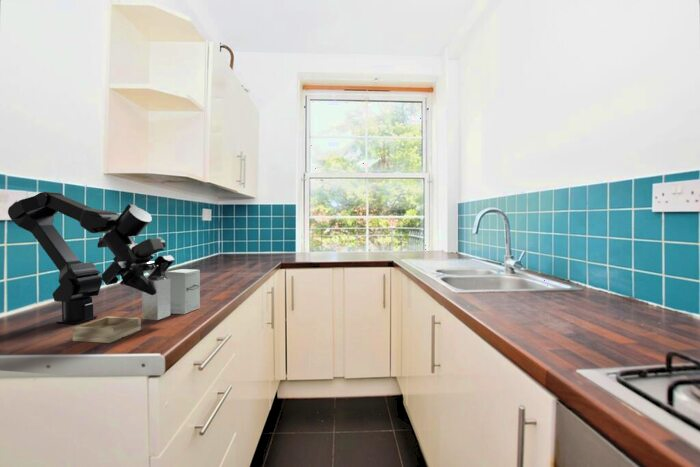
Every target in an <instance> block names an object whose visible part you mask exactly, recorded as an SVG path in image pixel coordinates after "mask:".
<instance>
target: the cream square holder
mask: <svg viewBox="0 0 700 467" xmlns="http://www.w3.org/2000/svg"><path fill="white" fill-rule="evenodd" d="M141 330H142V317H130V316H129V317H127V316H111V315H110V316H108V315H107V316H105V317H104V316H103V317H101V318H97V319H95V320H92V321H90V322H87V323H86V322H85V323H83V324H79V325H78V326H74V327H72V341H73V342H87V343H90V342H91V343H104V344H105V343H107V344H110V343H113V342H115V341H118V340H120V339H122V337H123V338H125V337H127V336H130V335H132V334H134V333H137V332H139V331H141Z"/></svg>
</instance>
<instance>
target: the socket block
mask: <svg viewBox="0 0 700 467" xmlns="http://www.w3.org/2000/svg"><path fill="white" fill-rule="evenodd" d="M148 277H149V276H148ZM146 279H147V278H146ZM147 280H148V281H149V283H150V284H151V286H152V287H153V288H154V290H155V292H156V293H155V294H154V295H150V294H148V293H145V292H143V291H141V293H142V294H141V298H142V299H141V305H142V308H141V309H142V312H141V314H142V316H141V320H153V321H159V320H161V319H165V318H167V317H169V316H171V313H170V278H164V276H153V277H149V279H147Z"/></svg>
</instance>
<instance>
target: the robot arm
mask: <svg viewBox="0 0 700 467" xmlns="http://www.w3.org/2000/svg"><path fill="white" fill-rule="evenodd" d="M58 213H60V214H62V215H64V216H67V217H69V218H70V219H73V220H76V221H77V222H79V226H80V227H82V228H83V229H84V230H85V231H87V232H88V233H91V234H104V235H103V236H102V237H99V239H98V242H97V246H96V247H97V248H101V249H102V248H107V249H109V251H110V252H111V253H112V254H113V256H114V257H113V259H112V262H111V263H110V264H109V266H108V267H107V268H106V269H105V271H104V272H102V274H101V271H100V270H98V268H97V267H96V265H95V264H94V263H93V262H92V261H90V262H83V261H81V260H80V259H79V258H78V256H77V255H76V253H75V252H74V251H73V250H72V249H71V247H70V246H69V244H68V243H67V241H65V238H63V236H62V235H61V234H60V232H58V230H57V229H56V227H55V226H54V224H53V223H54V219H55V216H54V215H56V214H58ZM7 214H8V216H9V219H10V220H11V221H12V222H13V223H14V224H15V225H17V227H18V228H21V229H23V230H25V231H28V232H30V233H31V234H32V236H34V238H35V239H36V241H37V242H38V244H39V245H40V246H41V248H42V249H43V251H45V253H46V254H47V256H48V257H49V259H50V260H51V261H52V263H53V264H54V265H55V267H56V268H57V269H58V271H59V275H58V283H59V286H57V287H56V289H55V290H54V291H53V292H52V298H53V301H54V302H58V303H59V302H61V319H59V320H58V319H57V320H56V321H55V322H56V324H68V325H69V324H71V325H72V324H73V325H78V324H81V323H84V322H85V323H86V322H88V321H91V320H93V319H96V318H97V319H98V315H94V303H93V297H97V296H99V293H100V291H101V286H102V283H104V284H105V285H106V286H110V285H114V284H117V283H118V281H119V277H117V276H120V277H121V279H122V280H120V281H119V284H120V285H121V286H123V285H124V286H127V287H130V288H132V289H136V290H137V291H140V292H142V291H143V292H145V293H148V294H150V295H154V294H155V293H156V292H155V290H154V288H153V287H152V286H151V284H150V283H149V281H148V280H147V279H149V277H153V276H164V278H166V275H165V272H167V270H169V268H170V267H171V266H172V265H173V264H174V263H175V261H176V260H175V258H174V257H173V256H172V255H171V254H166V255H165V254H164V255H158V256H157V257H156V258H155V259H154V257H155V255H156V254H157V253H158V252H159V253H160V252H163V251H164V250H165V248H166V247H167V242H166V241H165V240H164V239H163V238H162V237H160V236H158V237H157V236H156V237H155V238H148V239H145V240H143V241H141V242H139V243H137V242H136V241H135V240H134V239H133V237H138V236H140V234H141V233H143V231H144V230H145V229H146V227H147V226H148V225H149V224H150V223H151V222H152V220H153V217H152V215H151V214H150V213H149V212H147V211H145V210H144V209H142V208H140V207H138V206H137V205H136V204H132V203H131V204H130V203H129V204H127V205H126V206H125V208H124V210H123V211H122V212H121V213H120V214H119V213H117V212H115V211H112V210H111V211H110V210H105V209H96V208H93V207H91V206H88V205H86V204H83V203H82V202H80V201H79V202H78V201H76V200H74V199H73V198H70V197H67V196H65V195H64V194H62V193H60V192H52V191H51V192H50V191H43V192H38V193H37V194H36V195H33V196H30V197H26V198H22V199H20V200H18V201H16V202H13V203H12V205H10V206H9V207H8V210H7ZM153 259H154V260H153ZM151 260H153V261H151ZM145 272H146V273H148V274H149V275H148V276H147V277H146V275H145Z"/></svg>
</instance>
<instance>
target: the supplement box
mask: <svg viewBox="0 0 700 467" xmlns="http://www.w3.org/2000/svg"><path fill="white" fill-rule="evenodd" d="M165 275H166V278H170V314H174V315H186V314H188V313H191V312H194V311H195V310H199V309H200V308H201V304H200V303H201V270H200V269H194V268H193V269H191V268H190V269H189V268H180V269H175V270H168V271H165Z"/></svg>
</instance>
